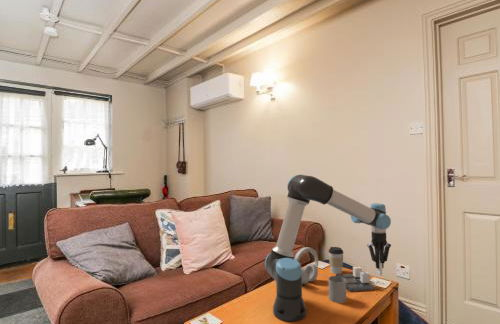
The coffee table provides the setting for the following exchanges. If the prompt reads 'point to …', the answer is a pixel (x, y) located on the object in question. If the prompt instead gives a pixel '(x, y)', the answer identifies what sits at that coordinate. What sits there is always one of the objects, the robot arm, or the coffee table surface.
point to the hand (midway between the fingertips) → (379, 274)
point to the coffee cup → (336, 259)
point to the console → (355, 283)
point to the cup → (337, 289)
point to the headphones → (308, 266)
